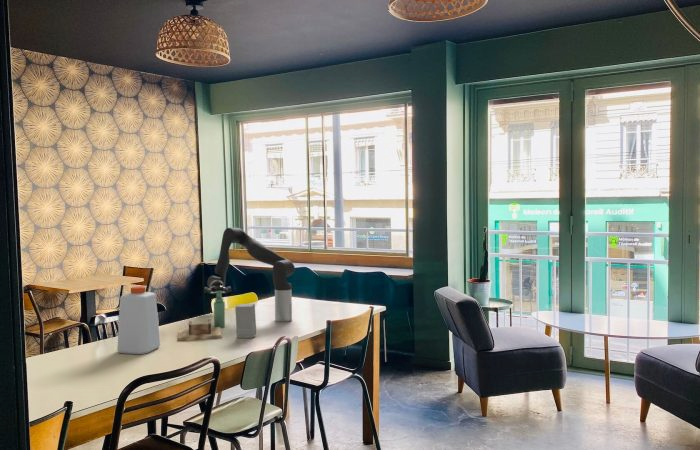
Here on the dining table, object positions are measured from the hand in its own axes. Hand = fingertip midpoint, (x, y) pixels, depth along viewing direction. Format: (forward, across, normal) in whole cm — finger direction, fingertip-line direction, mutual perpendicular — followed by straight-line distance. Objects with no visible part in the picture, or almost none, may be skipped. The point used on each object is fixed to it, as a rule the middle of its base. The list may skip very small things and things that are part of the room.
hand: (218, 291), depth 296 cm
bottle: (+12, 0, +17) cm, 20 cm away
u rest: (+27, -9, +17) cm, 33 cm away
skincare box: (+37, +12, +16) cm, 42 cm away
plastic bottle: (+48, -35, +17) cm, 62 cm away
